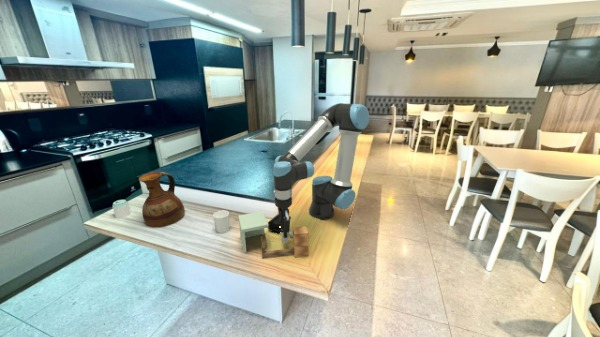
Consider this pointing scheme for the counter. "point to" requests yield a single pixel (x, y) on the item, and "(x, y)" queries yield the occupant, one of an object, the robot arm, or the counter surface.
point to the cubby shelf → (251, 226)
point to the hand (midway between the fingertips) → (284, 241)
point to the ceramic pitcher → (161, 201)
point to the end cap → (274, 225)
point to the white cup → (222, 221)
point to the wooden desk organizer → (298, 245)
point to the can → (121, 209)
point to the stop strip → (290, 234)
